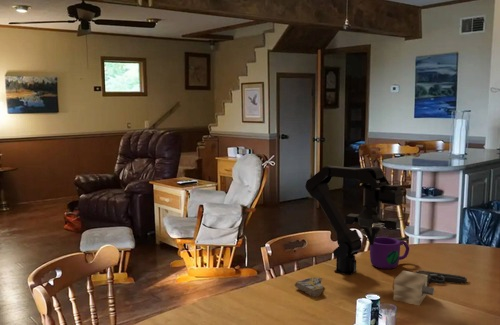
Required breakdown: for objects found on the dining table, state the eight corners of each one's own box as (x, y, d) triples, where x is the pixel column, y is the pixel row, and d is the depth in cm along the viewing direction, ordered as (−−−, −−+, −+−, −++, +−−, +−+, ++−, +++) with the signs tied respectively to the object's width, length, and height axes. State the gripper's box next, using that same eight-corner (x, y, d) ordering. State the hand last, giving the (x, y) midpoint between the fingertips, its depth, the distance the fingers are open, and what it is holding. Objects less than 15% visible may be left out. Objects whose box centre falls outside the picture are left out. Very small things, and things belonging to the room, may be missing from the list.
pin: (392, 292, 158) (392, 279, 158) (396, 288, 162) (396, 275, 161) (431, 300, 152) (431, 287, 151) (434, 295, 155) (435, 282, 155)
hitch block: (393, 300, 155) (394, 279, 154) (402, 289, 164) (402, 270, 163) (419, 305, 151) (420, 284, 150) (426, 294, 159) (427, 275, 159)
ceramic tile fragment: (328, 288, 157) (298, 289, 156) (328, 298, 157) (298, 298, 157) (321, 276, 169) (292, 276, 168) (320, 285, 169) (292, 285, 169)
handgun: (471, 289, 161) (466, 275, 172) (413, 281, 166) (413, 267, 177) (470, 297, 161) (465, 282, 172) (412, 289, 166) (412, 275, 178)
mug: (381, 272, 181) (381, 246, 180) (363, 262, 192) (364, 238, 190) (418, 266, 187) (419, 241, 186) (399, 257, 198) (400, 233, 197)
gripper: (338, 203, 169) (338, 246, 171) (391, 208, 159) (390, 254, 161) (350, 198, 179) (349, 239, 180) (401, 203, 169) (400, 246, 170)
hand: (371, 244), depth 173 cm, fingers closed
